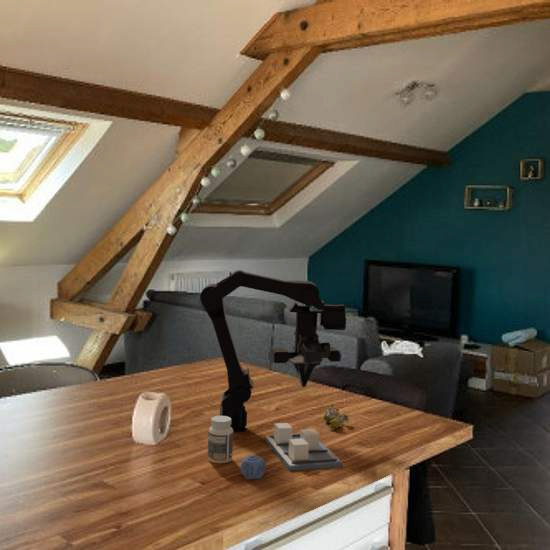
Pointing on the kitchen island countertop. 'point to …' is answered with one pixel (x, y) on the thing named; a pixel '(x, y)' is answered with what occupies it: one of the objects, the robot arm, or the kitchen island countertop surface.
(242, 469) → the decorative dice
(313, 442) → the white cube
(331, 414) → the toy
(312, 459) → the dip bank
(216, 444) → the pill bottle
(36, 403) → the kitchen island countertop surface
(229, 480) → the kitchen island countertop surface
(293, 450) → the white cube
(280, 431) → the white cube
